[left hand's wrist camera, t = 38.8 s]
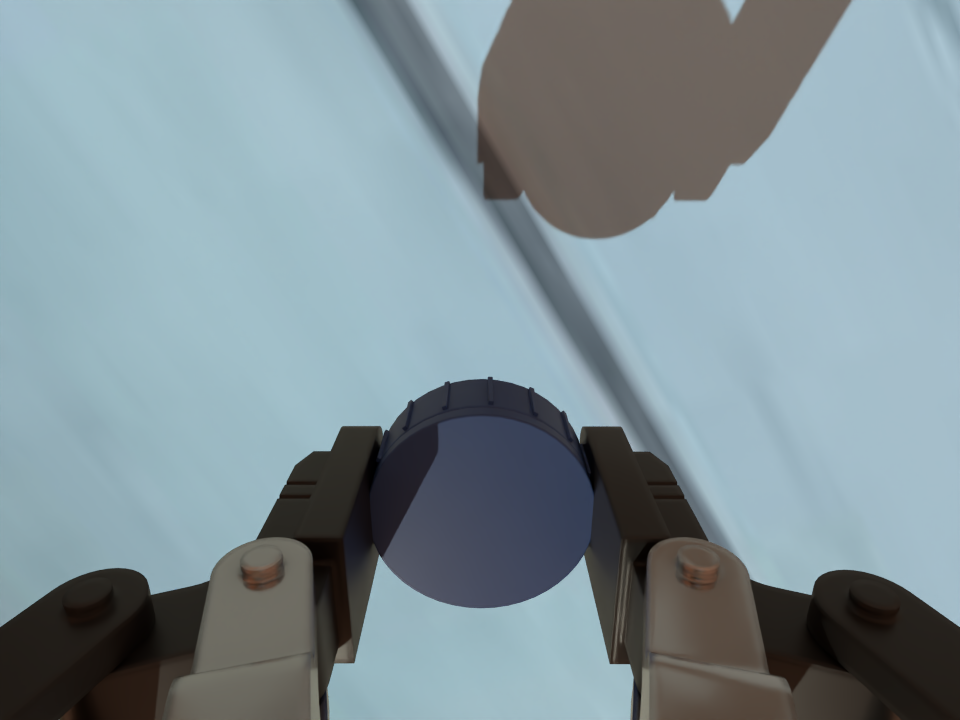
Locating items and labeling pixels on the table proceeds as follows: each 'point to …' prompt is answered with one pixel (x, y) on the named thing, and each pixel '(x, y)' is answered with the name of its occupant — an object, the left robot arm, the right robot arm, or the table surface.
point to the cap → (481, 495)
